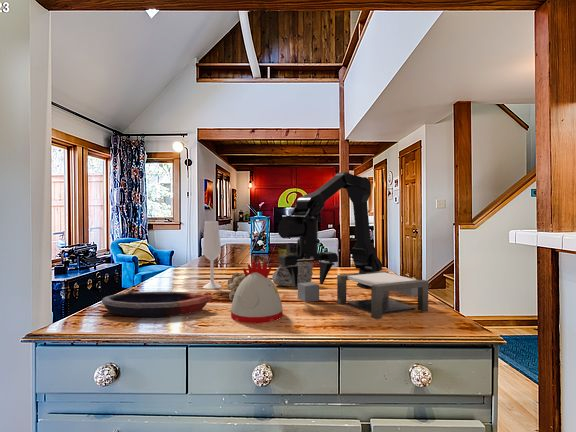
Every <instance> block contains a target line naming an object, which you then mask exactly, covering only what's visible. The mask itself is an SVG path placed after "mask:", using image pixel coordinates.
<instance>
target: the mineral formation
mask: <svg viewBox="0 0 576 432" xmlns="http://www.w3.org/2000/svg"><path fill="white" fill-rule="evenodd" d="M245 277H246V276H245V274H244V272H240V273H239V272H238V271H236V272H234V273H233V274H232V275H231V277H230V278H229V279H228V280H227V285H228V287H227V290H229V291H231V292H230V293H229V295H228V297H229V300H230V301H231V302H233V298H234V295H235V292H236V290H237V288H238V286H239V284H240V283H241V282H242V280H243V279H244V278H245Z"/></svg>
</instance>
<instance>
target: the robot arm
mask: <svg viewBox="0 0 576 432" xmlns="http://www.w3.org/2000/svg"><path fill="white" fill-rule="evenodd" d="M341 189H344V190H346V193H347V196H348V198H349V200H350V201H351V202H352V205H353V206H352V207H353V218H354V227H355V238H356V239H355V240H356V243H355V245H354V247H352V248H351V250H350V251H351V259H352V261H353V263H354V264H353V265H354V267H355V269H356V270H358V273H365V272H376V271H383V266H384V265H383V262H382V261H381V260H380V259H379V257H378V255H377V250H376V247H375V245H374V244H373V243H372V241H371V230H370V221H369V209H368V208H369V207H368V201H369V198H370V197H371V194H372V184H371V180H370V179H369V177H366V176H360V175H356V174H355V175H354V174H352V173H349V172H347V171H346V172H345V171H344V172H337V173H335V175H334V176H333V177H332V178H330V179H329V180H327V182H325V183H324V184H322V186H320V187H318V188H317V189H316V190H315V191H313V192H310V193H307V194H304V195H302V196H300V197H298V198H297V200H295V201H296V204H295V205H294V208H293V209H292V211H291V213H290V215H281V216H282V218H281V220H280V221H279V223H278V224H277V225H278V226H277V233H278V235H279V237H280V238H282V239H292V238H297V244H294V242H292V243H291V242H289V243H287V244H286V254H279V256H278V258H277V259H278V260H277V262H278V264H279V265H282V266H284V267H286V268H287V269H288V271H289V273H290V276H291V279H292V282H293V284H294V286H293V287H294V288H298V287H297V282H298V266H296V264H297V262H305V263H308V262H318V266H319V285H323V284H324V283H325V281H326V279H327V276H328V274H329V272H330V270H331V268H332V267H333V266H335V263H338V262H339V255H338V254H337V253H336V252H331V251H321V252H318V248H319V246H318V244H320V243H321V242H320V239H318V238H319V237H318V236H319V235H318V233H319V232H318V231H319V227H318V223H319V222H320V223H321V222H323V221H324V220H323V219H322V218H321V217H320V215H319V213H320V212H321V211H322V210H323V209H324V208H325V206H326V205H325V204H326V202H327V201H328V200H329V199H331V198H332V197H333V196H334V195H336V194H337V193H338V192H339V191H341ZM356 286H357V287H361V288H364V289H371V286H368V285H365V284H362V283H358V282H357V283H356Z"/></svg>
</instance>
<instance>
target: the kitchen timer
mask: <svg viewBox="0 0 576 432" xmlns="http://www.w3.org/2000/svg"><path fill="white" fill-rule="evenodd" d="M251 265H252V266H251ZM267 265H268V264H267V261H264V263H263V266H262V263H261V260H258V261H257V263H256V260H255V259H254V260H252V264H247V269H248V271H247V269H246V268H245V267H244V268H242V272H243V274H245V276H246V277H245V278H244V279H243V280H242V282H241V283H240V284H239V286H238V288H237V290H236V292H235V295H234V298H233V301H231V302H232V303H231V307H230V317H231V319H232V320H233V321H235V322H238V323H244V324H264V323H271V322H275V320H276V321H278V320H280V319H281V318H282V317H283V304H282V300H281V297H280V293H279V291H278V289H277V286H276V284H274V282H273V280H272V279H271V278H269V276H270V273H271V270H272V266H270V267H268V266H267ZM279 318H280V319H279ZM277 319H278V320H277Z"/></svg>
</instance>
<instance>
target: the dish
mask: <svg viewBox="0 0 576 432" xmlns="http://www.w3.org/2000/svg"><path fill="white" fill-rule="evenodd" d="M212 301H213V296H212V295H211V294H210V295H208V294H204V293H203V294H202V293H199V292H186V291H134V290H128V292H127V291H126V292H124V293H117V294H112V295H108V296H105V297H103V298H102V299H101V302H102V304H103V306H104V308H105V310H107V311H108V312H109V313H110V314H111V313H112V314H115V315H118V316H119V315H120V316H126V317H134V318H135V317H137V318H139V317H140V318H158V317H159V318H163V317H166V318H167V317H176V316H182V315H183V316H184V315H187V314H193V313H196V312H198V311H200V310H202V309H204V308H205V307H206V305H207V304H208V302H209V303H211V302H212Z"/></svg>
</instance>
